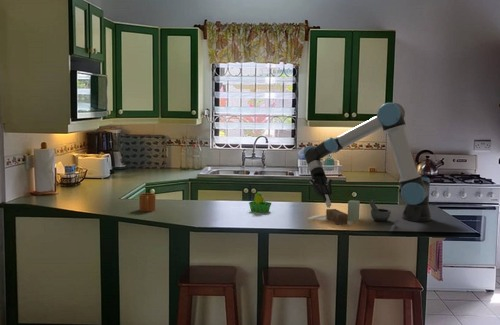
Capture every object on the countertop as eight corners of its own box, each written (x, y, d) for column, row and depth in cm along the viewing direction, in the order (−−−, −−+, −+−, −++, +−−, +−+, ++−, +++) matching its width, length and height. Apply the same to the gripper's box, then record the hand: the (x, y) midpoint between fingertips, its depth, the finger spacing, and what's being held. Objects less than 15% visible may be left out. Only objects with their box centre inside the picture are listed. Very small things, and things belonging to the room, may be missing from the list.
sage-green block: (358, 219, 277) (359, 200, 276) (357, 221, 272) (357, 202, 271) (349, 218, 279) (350, 200, 278) (347, 220, 274) (348, 201, 273)
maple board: (360, 222, 277) (360, 220, 277) (350, 227, 265) (350, 224, 265) (318, 216, 289) (318, 214, 289) (307, 221, 278) (307, 218, 277)
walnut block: (326, 209, 278) (338, 214, 264) (335, 208, 279) (347, 214, 266) (325, 218, 278) (338, 224, 265) (334, 218, 280) (347, 224, 266)
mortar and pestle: (388, 221, 281) (389, 199, 279) (391, 225, 271) (392, 202, 270) (367, 220, 282) (368, 198, 281) (368, 224, 273) (369, 201, 272)
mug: (135, 212, 291) (135, 196, 290) (142, 208, 303) (141, 193, 302) (151, 213, 290) (151, 196, 289) (157, 209, 302) (157, 193, 301)
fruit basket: (271, 211, 302) (272, 191, 301) (265, 214, 294) (266, 193, 293) (253, 209, 307) (254, 189, 306) (247, 211, 299) (247, 192, 298)
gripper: (325, 174, 298) (337, 209, 284) (303, 174, 294) (315, 210, 280) (329, 166, 293) (343, 201, 279) (308, 166, 288) (320, 202, 275)
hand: (329, 206), depth 279 cm, fingers closed
